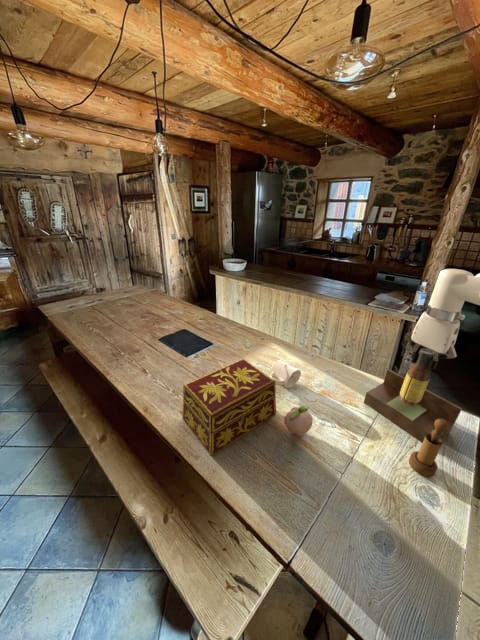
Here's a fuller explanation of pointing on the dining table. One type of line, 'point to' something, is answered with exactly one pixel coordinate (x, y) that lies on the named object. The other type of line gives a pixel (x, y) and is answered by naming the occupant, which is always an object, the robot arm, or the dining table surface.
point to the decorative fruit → (298, 420)
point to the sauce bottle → (417, 378)
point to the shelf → (411, 408)
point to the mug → (284, 374)
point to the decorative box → (228, 404)
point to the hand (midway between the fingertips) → (422, 364)
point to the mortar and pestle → (429, 451)
